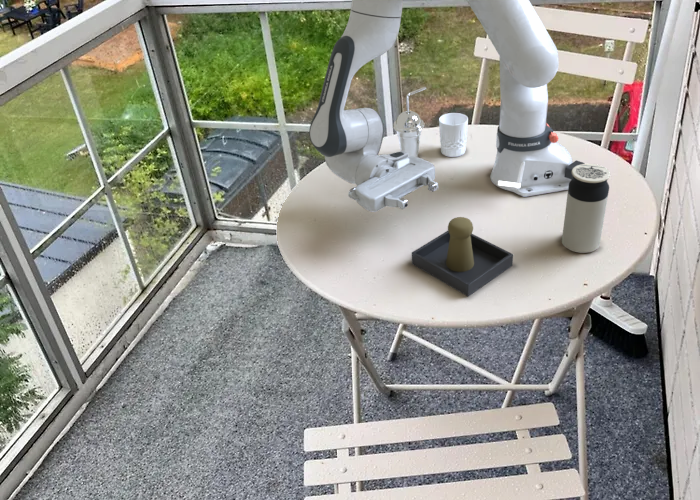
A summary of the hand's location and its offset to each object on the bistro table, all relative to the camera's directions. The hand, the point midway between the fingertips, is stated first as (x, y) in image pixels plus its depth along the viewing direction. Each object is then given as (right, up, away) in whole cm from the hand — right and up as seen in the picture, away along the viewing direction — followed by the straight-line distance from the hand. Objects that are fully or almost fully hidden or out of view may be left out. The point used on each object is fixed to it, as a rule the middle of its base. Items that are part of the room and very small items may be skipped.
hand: (421, 196), depth 143 cm
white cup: (+14, +16, +42) cm, 47 cm away
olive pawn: (+8, -15, -1) cm, 17 cm away
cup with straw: (+2, +14, +41) cm, 43 cm away
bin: (+9, -15, 0) cm, 17 cm away
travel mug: (+36, -10, +2) cm, 37 cm away
